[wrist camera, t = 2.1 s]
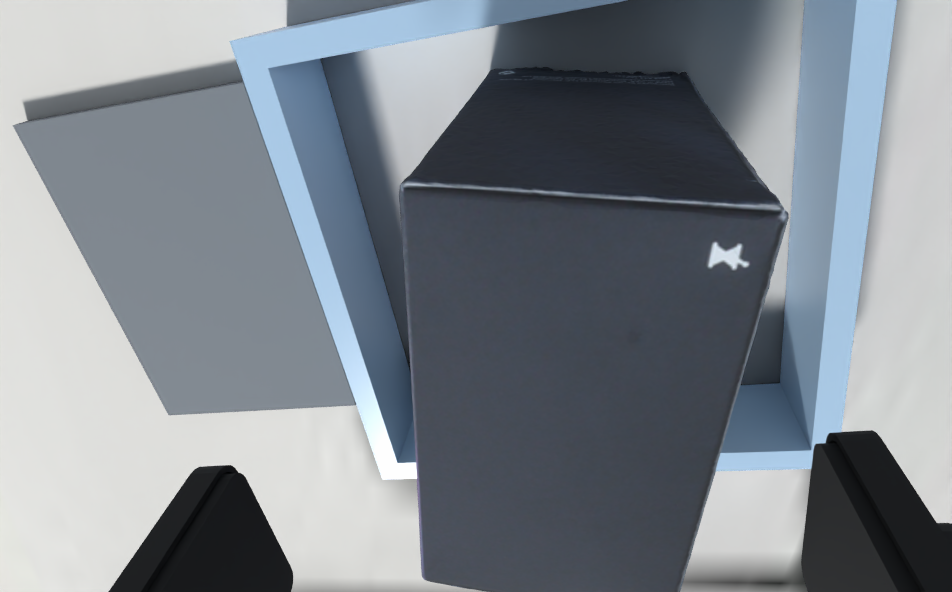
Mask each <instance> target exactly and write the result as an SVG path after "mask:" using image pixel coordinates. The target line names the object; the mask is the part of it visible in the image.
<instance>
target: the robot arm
mask: <svg viewBox="0 0 952 592" xmlns="http://www.w3.org/2000/svg"><path fill="white" fill-rule="evenodd" d="M801 564H802V572H803V577H804V581H805V584H806V587H807V590H808V592H952V524H950V523H936V521H935V520H934V518H933V517H932V515H931V514H930V512H929V511H928V509H927V508H926V506H925V505H924V503H923V502H922V500H921V498H920V497H919V495H918V494H917V492H916V491H915V489H914V488H913V486H912V485H911V483H910V482H909V480H908V479H907V477H906V476H905V474H904V473H903V471H902V469H901V468H900V466H899V465H898V463H897V462H896V460H895V459H894V457H893V456H892V454H891V453H890V451H889V450H888V448H887V447H886V445H885V444H884V442H883V441H882V439H881V438H880V436H879V435H878V434H877V433H876V432H874V431H854V432H836V433H829V434H828V436H827V438H826V443H819V444H815V446H814V450H813V459H812V468H811V477H810V487H809V496H808V505H807V514H806V523H805V532H804V541H803V550H802V561H801ZM292 585H293V572H292V569H291V566H290V564H289V563H288V561H287V559H286V557H285V555H284V553H283V551H282V549H281V547H280V545H279V543H278V541H277V539H276V537H275V535H274V533H273V531H272V529H271V527H270V525H269V523H268V521H267V519H266V517H265V515H264V513H263V511H262V509H261V507H260V505H259V503H258V501H257V499H256V497H255V495H254V493H253V491H252V489H251V487H250V486H249V484H248V482H247V480H246V478H245V476H244V475H243V474H241V473H238V471H237V470H236V469H235V468H234V467H233V466H231V465H226V466H207V467H199V468H197V469H195V470H194V471H193V472H192V473H191V474H190V476H189V477H188V478H187V480H186V481H185V483H184V484H183V486H182V487H181V489H180V490H179V491H178V493H177V494H176V496H175V497H174V499H173V500H172V501H171V503H170V504H169V506H168V507H167V509H166V510H165V512H164V513H163V514H162V516H161V517H160V519H159V520H158V522H157V523H156V524H155V526H154V527H153V529H152V530H151V532H150V533H149V535H148V536H147V537H146V539H145V540H144V542H143V543H142V545H141V546H140V547H139V549H138V550H137V552H136V553H135V555H134V556H133V558H132V559H131V560H130V562H129V563H128V565H127V566H126V568H125V569H124V570H123V572H122V573H121V575H120V576H119V578H118V579H117V580H116V582H115V583H114V585H113V586H112V588H111V589H110V591H109V592H291V589H292Z"/></svg>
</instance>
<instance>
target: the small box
mask: <svg viewBox="0 0 952 592" xmlns="http://www.w3.org/2000/svg"><path fill="white" fill-rule="evenodd" d="M399 201H400V214H401V226H402V248H403V261H404V276H405V291H406V306H407V322H408V338H409V354H410V370H411V386H412V402H413V419H414V437H415V454H416V472H417V489H418V507H419V529H420V551H421V570H422V577H423V579H424V580H427V581H430V582H435V583H440V584H446V585H451V586H456V587H462V588H467V589H475V590H481V591H486V592H680V590H681V586H682V583H683V580H684V576H685V572H686V569H687V565H688V562H689V559H690V556H691V553H692V549H693V545H694V541H695V538H696V535H697V532H698V529H699V525H700V522H701V518H702V515H703V511H704V507H705V504H706V501H707V498H708V495H709V491H710V488H711V485H712V481H713V478H714V475H715V471H716V467H717V463H718V460H719V457H720V453H721V450H722V446H723V443H724V439H725V436H726V433H727V429H728V426H729V422H730V417H731V414H732V410H733V407H734V404H735V401H736V398H737V395H738V391H739V388H740V385H741V381H742V378H743V374H744V370H745V366H746V363H747V360H748V357H749V353H750V350H751V347H752V344H753V341H754V337H755V334H756V330H757V326H758V323H759V319H760V315H761V312H762V309H763V305H764V301H765V297H766V294H767V292H768V289H769V285H770V279H771V276H772V273H773V271H774V265H775V262H776V258H777V255H778V252H779V248H780V245H781V242H782V238H783V235H784V232H785V228H786V225H787V221H788V212H786V211H785V210H784V208H783V206H782V205H781V203H780V201H779V200H778V198H777V197H776V195H774V194H773V193H772V192H770V191H769V189H768V187H767V186H766V185H765V184H764V183H763V181H762V180H761V179H760V178H759V176H758V175H757V173H756V171H755V169H754V168H753V167H752V166H751V164H750V163H749V162H748V160H747V158H746V157H745V156H744V155H743V153H742V152H741V151H740V150H739V149H738V147H737V145H736V144H735V142H734V140H732V138H731V137H730V136H729V134H728V133H727V132H726V131H725V130H724V129H723V127H722V126H721V125H720V123H719V121H718V120H717V118H716V117H715V116H714V114H713V113H712V112H711V111H710V109H709V107H708V106H707V105H706V104H705V102H704V100H703V99H702V97H701V96H700V94H699V92H698V90H697V89H696V87H695V85H694V83H693V81H692V80H691V79H690V77H689V76H688V75H687V73H686V72H681V73H680V74H678V73H676V72H660V73H657V74H644V73H642V72H635V73H627V72H622V73H608V72H607V71H606V72H599V73H597V72H583V71H580V70H574V71H562V70H558V71H555V70H552V69H551V68H548V67H543V68H538V67H535V68H515V69H511V70H509V69H494V70H491V71H490V72H489V73H488V75H487V77H486V78H485V79H484V81H483V82H482V83H481V84H480V86H479V87H478V89H477V90H476V91H475V93H474V94H473V95H472V97H471V98H470V99H469V101H468V102H467V103H466V104H465V106H464V107H463V108H462V109H461V111H460V112H459V114H458V115H457V116H456V117H455V119H454V120H453V121H452V122H451V123H450V125H449V126H448V127H447V129H446V130H445V131H444V132H443V133H442V135H441V136H440V138H439V139H438V140H437V141H436V143H435V144H434V145H433V147H432V148H431V149H430V150H429V151H428V153H427V154H426V155H425V157H424V158H423V160H422V161H421V163H420V164H419V165H418V166H417V167H416V169H415V170H414V171H413V172H412V174H411V175H410V176H408V177H407V178H406V179H405V180H404V181H403V182H402V183H401V185H400V191H399Z"/></svg>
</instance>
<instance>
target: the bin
mask: <svg viewBox="0 0 952 592" xmlns="http://www.w3.org/2000/svg"><path fill="white" fill-rule="evenodd" d="M621 1H626V0H415V1H410V2H405V3H400V4H395V5H390V6H385V7H380V8H375V9H371V10H366V11H361V12H356V13H351V14H346V15H341V16H336V17H331V18H326V19H322V20H317V21H312V22H307V23H302V24H297V25H292V26H287V27H283V28H279V29H275V30H271V31H268V32H264V33H260V34H256V35H252V36H248V37H244V38H240V39H237V40H233V41H230V44H231V47H232V49H233V52H234V55H235V58H236V61H237V64H238V67H239V70H240V72H241V75H242V78H243V81H244V84H245V87H246V90H247V92H248V95H249V98H250V101H251V104H252V107H253V110H254V113H255V115H256V118H257V121H258V124H259V127H260V130H261V133H262V135H263V138H264V141H265V144H266V147H267V150H268V153H269V155H270V158H271V161H272V164H273V167H274V170H275V173H276V176H277V178H278V181H279V184H280V187H281V190H282V193H283V196H284V198H285V201H286V204H287V207H288V210H289V213H290V216H291V219H292V221H293V224H294V227H295V230H296V233H297V236H298V239H299V241H300V244H301V247H302V250H303V253H304V256H305V259H306V262H307V264H308V267H309V270H310V273H311V276H312V279H313V282H314V284H315V287H316V290H317V293H318V296H319V299H320V302H321V304H322V307H323V310H324V313H325V316H326V319H327V322H328V325H329V327H330V330H331V333H332V336H333V339H334V342H335V345H336V347H337V350H338V353H339V356H340V359H341V362H342V365H343V368H344V370H345V373H346V376H347V379H348V382H349V385H350V388H351V390H352V393H353V396H354V399H355V402H356V405H357V408H358V410H359V413H360V416H361V419H362V422H363V425H364V428H365V431H366V433H367V436H368V439H369V442H370V445H371V448H372V451H373V453H374V456H375V459H376V462H377V465H378V468H379V471H380V474H381V476H382V479H417V472H416V454H415V437H414V419H413V402H412V386H411V373H410V370H409V366H408V363H407V359H406V356H405V352H404V349H403V345H402V342H401V338H400V335H399V331H398V328H397V324H396V321H395V317H394V314H393V310H392V307H391V303H390V300H389V297H388V293H387V290H386V286H385V283H384V279H383V276H382V272H381V269H380V265H379V262H378V258H377V255H376V251H375V248H374V244H373V241H372V237H371V234H370V230H369V227H368V223H367V220H366V216H365V213H364V209H363V206H362V203H361V199H360V196H359V192H358V189H357V185H356V182H355V178H354V175H353V171H352V168H351V164H350V161H349V157H348V154H347V150H346V147H345V143H344V140H343V136H342V133H341V129H340V126H339V122H338V119H337V115H336V112H335V109H334V105H333V102H332V98H331V95H330V91H329V88H328V84H327V81H326V77H325V74H324V70H323V67H322V63H321V60H320V58H325V57H330V56H336V55H341V54H346V53H351V52H357V51H362V50H367V49H373V48H378V47H383V46H388V45H394V44H399V43H404V42H410V41H415V40H420V39H425V38H431V37H436V36H441V35H447V34H452V33H457V32H462V31H468V30H473V29H478V28H484V27H489V26H494V25H500V24H505V23H510V22H515V21H521V20H526V19H531V18H537V17H542V16H547V15H552V14H558V13H563V12H568V11H574V10H579V9H584V8H589V7H595V6H600V5H605V4H611V3H616V2H621ZM896 4H897V0H805V1H804V17H803V33H802V48H801V64H800V79H799V95H798V110H797V126H796V141H795V157H794V173H793V188H792V204H791V219H790V235H789V250H788V266H787V282H786V297H785V313H784V328H783V344H782V359H781V375H780V383H774V384H755V385H740V388H739V391H738V395H737V398H736V401H735V404H734V407H733V410H732V414H731V417H730V422H729V426H728V429H727V433H726V436H725V439H724V443H723V446H722V450H721V453H720V457H719V460H718V463H717V467H716V471H743V470H784V469H811V468H812V459H813V450H814V446H815V444H819V443H826V438H827V436H828V434H829V433H836V432H841V430H842V422H843V414H844V407H845V399H846V391H847V383H848V376H849V368H850V360H851V352H852V345H853V337H854V329H855V321H856V314H857V306H858V298H859V290H860V283H861V275H862V267H863V259H864V252H865V244H866V236H867V228H868V221H869V213H870V205H871V197H872V190H873V182H874V174H875V166H876V159H877V151H878V143H879V135H880V128H881V120H882V112H883V104H884V97H885V89H886V81H887V73H888V66H889V58H890V50H891V42H892V35H893V27H894V19H895V11H896Z"/></svg>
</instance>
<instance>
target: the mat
mask: <svg viewBox="0 0 952 592" xmlns="http://www.w3.org/2000/svg"><path fill="white" fill-rule="evenodd" d="M13 127H14V129H15V130H16V132H17V134H18V136H19V138H20V140H21V142H22V143H23V145H24V147H25V149H26V151H27V153H28V155H29V156H30V158H31V160H32V162H33V164H34V166H35V168H36V169H37V171H38V173H39V175H40V177H41V179H42V181H43V182H44V184H45V186H46V188H47V190H48V192H49V194H50V195H51V197H52V199H53V201H54V203H55V205H56V207H57V208H58V210H59V212H60V214H61V216H62V218H63V220H64V221H65V223H66V225H67V227H68V229H69V231H70V233H71V234H72V236H73V238H74V240H75V242H76V244H77V246H78V247H79V249H80V251H81V253H82V255H83V257H84V259H85V260H86V262H87V264H88V266H89V268H90V270H91V272H92V273H93V275H94V277H95V279H96V281H97V283H98V285H99V286H100V288H101V290H102V292H103V294H104V296H105V298H106V299H107V301H108V303H109V305H110V307H111V309H112V311H113V312H114V314H115V316H116V318H117V320H118V322H119V324H120V325H121V327H122V329H123V331H124V333H125V335H126V337H127V338H128V340H129V342H130V344H131V346H132V348H133V350H134V351H135V353H136V355H137V357H138V359H139V361H140V363H141V365H142V366H143V368H144V370H145V372H146V374H147V376H148V378H149V379H150V381H151V383H152V385H153V387H154V389H155V391H156V392H157V394H158V396H159V398H160V400H161V402H162V404H163V405H164V407H165V409H166V411H167V413H168V415H182V414H201V413H220V412H239V411H257V410H276V409H295V408H314V407H332V406H351V405H356V402H355V399H354V396H353V393H352V390H351V388H350V385H349V382H348V379H347V376H346V373H345V370H344V368H343V365H342V362H341V359H340V356H339V353H338V350H337V347H336V345H335V342H334V339H333V336H332V333H331V330H330V327H329V325H328V322H327V319H326V316H325V313H324V310H323V307H322V304H321V302H320V299H319V296H318V293H317V290H316V287H315V284H314V282H313V279H312V276H311V273H310V270H309V267H308V264H307V262H306V259H305V256H304V253H303V250H302V247H301V244H300V241H299V239H298V236H297V233H296V230H295V227H294V224H293V221H292V219H291V216H290V213H289V210H288V207H287V204H286V201H285V198H284V196H283V193H282V190H281V187H280V184H279V181H278V178H277V176H276V173H275V170H274V167H273V164H272V161H271V158H270V155H269V153H268V150H267V147H266V144H265V141H264V138H263V135H262V133H261V130H260V127H259V124H258V121H257V118H256V115H255V113H254V110H253V107H252V104H251V101H250V98H249V95H248V92H247V90H246V87H245V84H244V81H241V82H235V83H230V84H225V85H219V86H214V87H208V88H203V89H198V90H192V91H187V92H181V93H176V94H171V95H165V96H160V97H155V98H149V99H144V100H138V101H133V102H128V103H122V104H117V105H112V106H106V107H101V108H95V109H90V110H85V111H79V112H74V113H68V114H63V115H58V116H52V117H47V118H42V119H36V120H31V121H26V122H23V123H19V124H16V125H13Z"/></svg>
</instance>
